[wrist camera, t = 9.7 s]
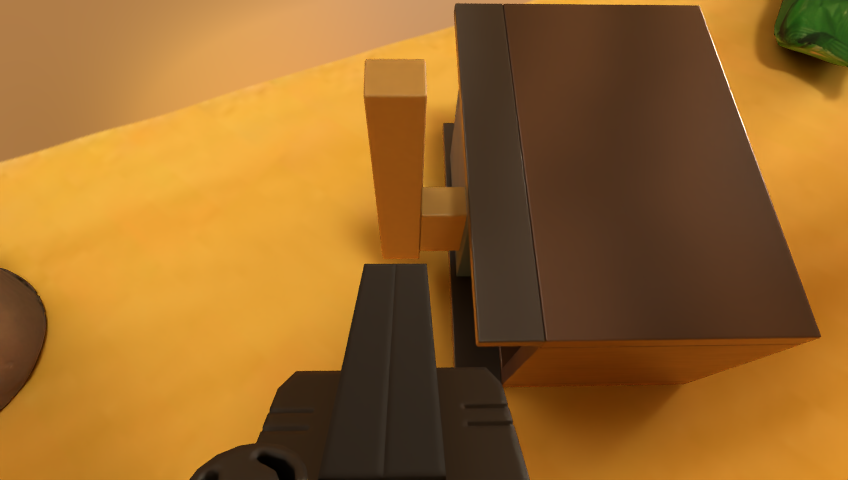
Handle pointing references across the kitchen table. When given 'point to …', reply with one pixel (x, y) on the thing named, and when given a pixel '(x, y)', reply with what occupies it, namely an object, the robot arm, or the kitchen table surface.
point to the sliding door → (412, 167)
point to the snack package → (815, 29)
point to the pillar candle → (18, 333)
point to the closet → (611, 203)
